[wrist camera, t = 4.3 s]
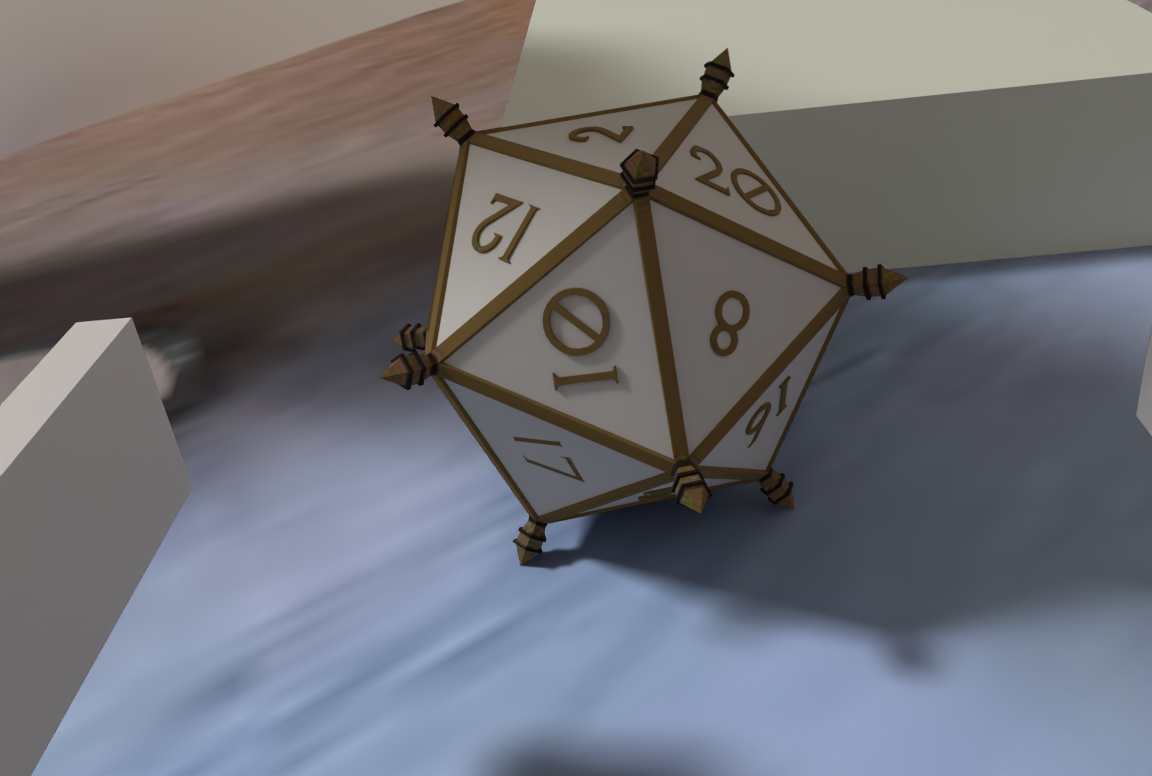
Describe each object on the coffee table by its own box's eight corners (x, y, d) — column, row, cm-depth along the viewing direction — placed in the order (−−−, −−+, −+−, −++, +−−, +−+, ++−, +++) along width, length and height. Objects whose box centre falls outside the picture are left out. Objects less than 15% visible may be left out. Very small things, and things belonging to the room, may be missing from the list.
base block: (524, 317, 30) (497, 139, 27) (554, 118, 45) (538, -7, 43) (1209, 256, 28) (1247, 62, 26) (998, 72, 44) (1009, -61, 41)
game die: (687, 571, 25) (858, 159, 24) (814, 745, 17) (1082, 126, 16) (311, 437, 24) (479, -9, 23) (244, 557, 15) (506, -142, 14)
